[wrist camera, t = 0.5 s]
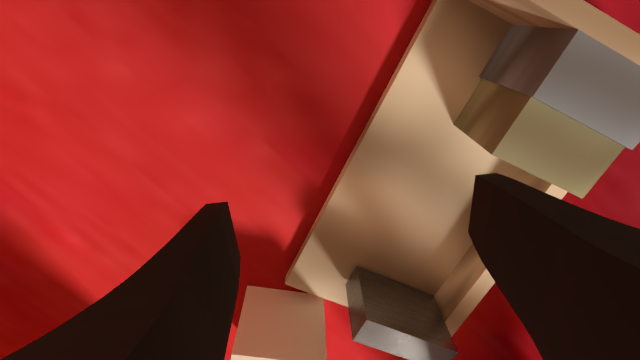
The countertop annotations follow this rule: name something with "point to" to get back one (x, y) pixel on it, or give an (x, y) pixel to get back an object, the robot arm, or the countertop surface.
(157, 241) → the countertop surface
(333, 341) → the countertop surface
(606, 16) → the shelf
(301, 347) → the beige wooden cube
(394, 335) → the bookend
